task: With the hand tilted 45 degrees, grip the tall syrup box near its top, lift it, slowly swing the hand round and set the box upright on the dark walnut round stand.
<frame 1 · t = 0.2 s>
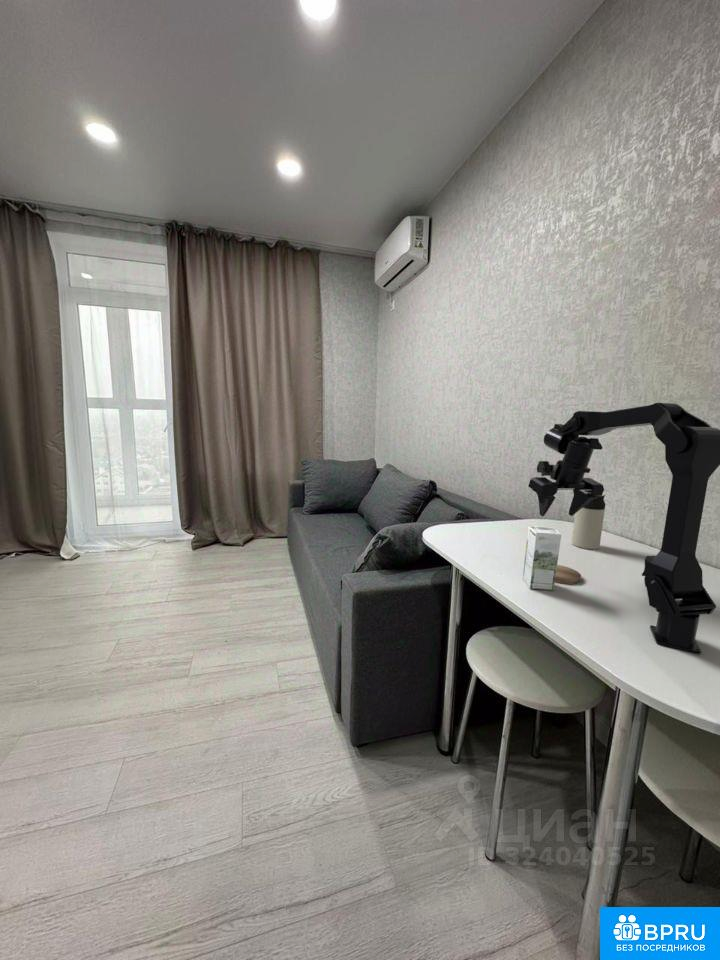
hand: (556, 515, 101), 15 cm above the table, tool pointing down, fingers open, 9 cm apart
syrup box: (537, 586, 94), on the table
travel mug: (585, 546, 125), on the table
walnut stand: (558, 575, 100), on the table
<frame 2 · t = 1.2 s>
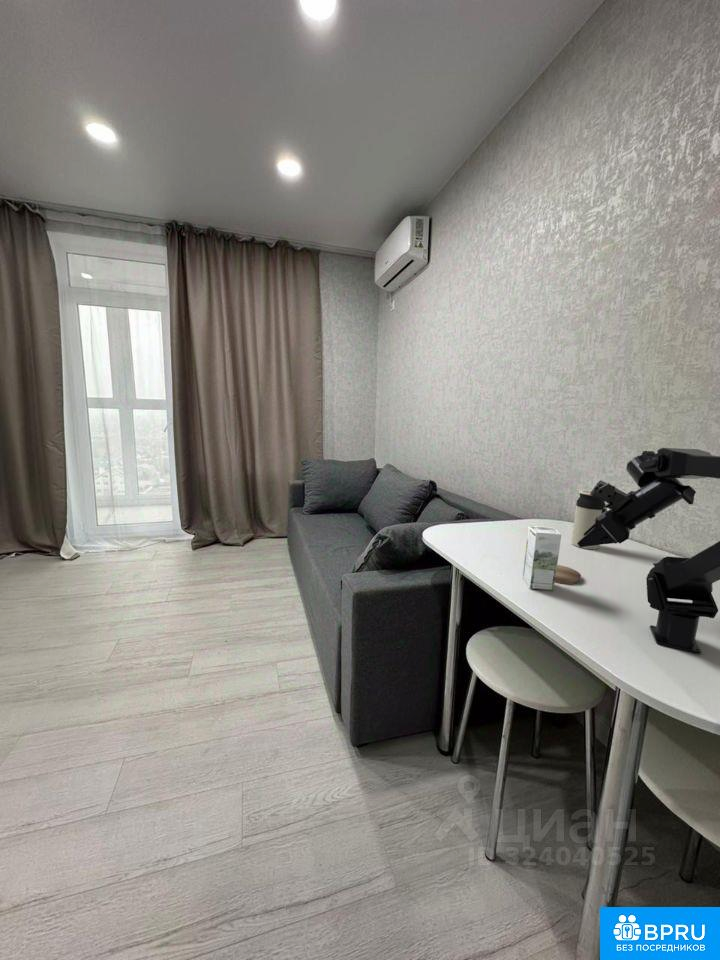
hand: (581, 540, 87), 13 cm above the table, tool tilted 45°, fingers open, 9 cm apart
nothing on the table moved.
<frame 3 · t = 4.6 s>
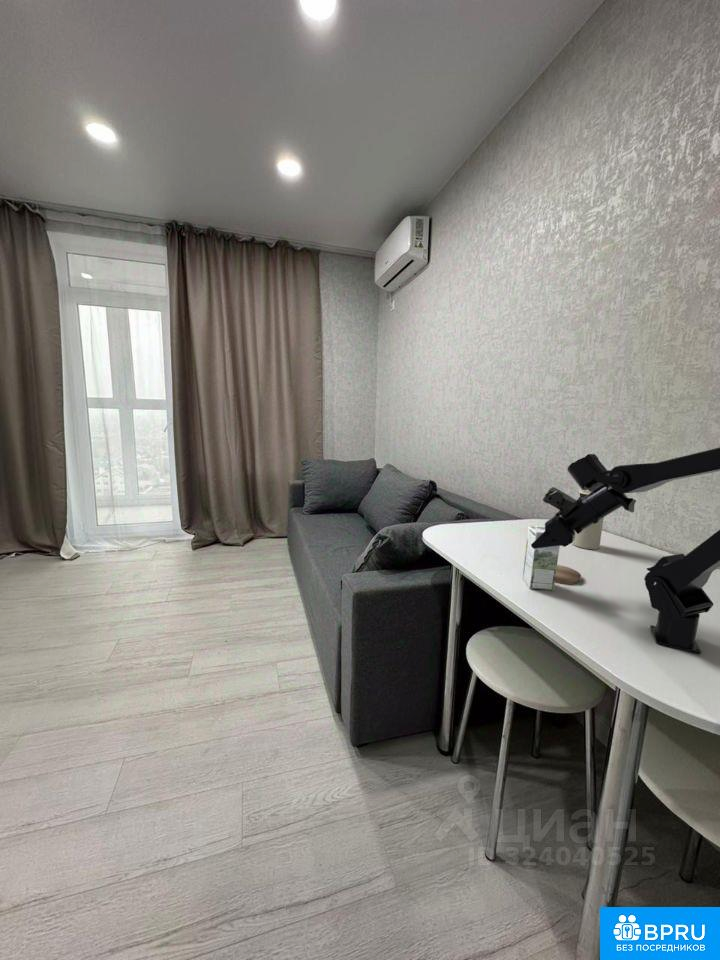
hand: (536, 542, 93), 11 cm above the table, tool tilted 45°, fingers closed on syrup box, 7 cm apart
syrup box: (537, 586, 94), on the table, touching gripper
everything else where it was.
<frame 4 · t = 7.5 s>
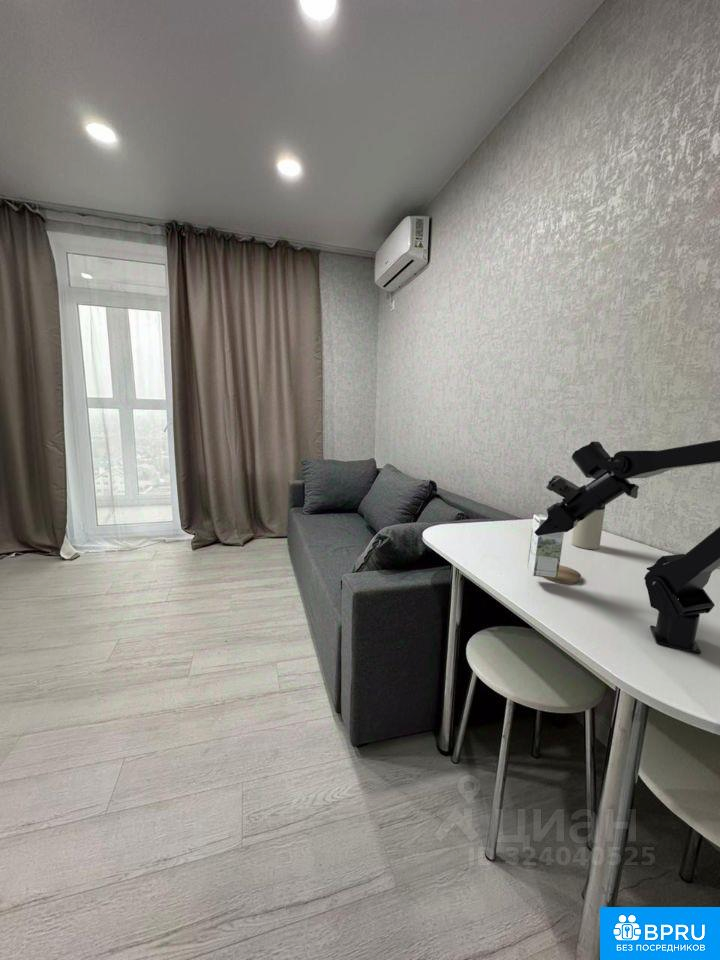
hand: (540, 530, 94), 13 cm above the table, tool tilted 45°, fingers closed on syrup box, 7 cm apart
syrup box: (542, 574, 94), point 2 cm above the table, touching gripper
everything else where it was.
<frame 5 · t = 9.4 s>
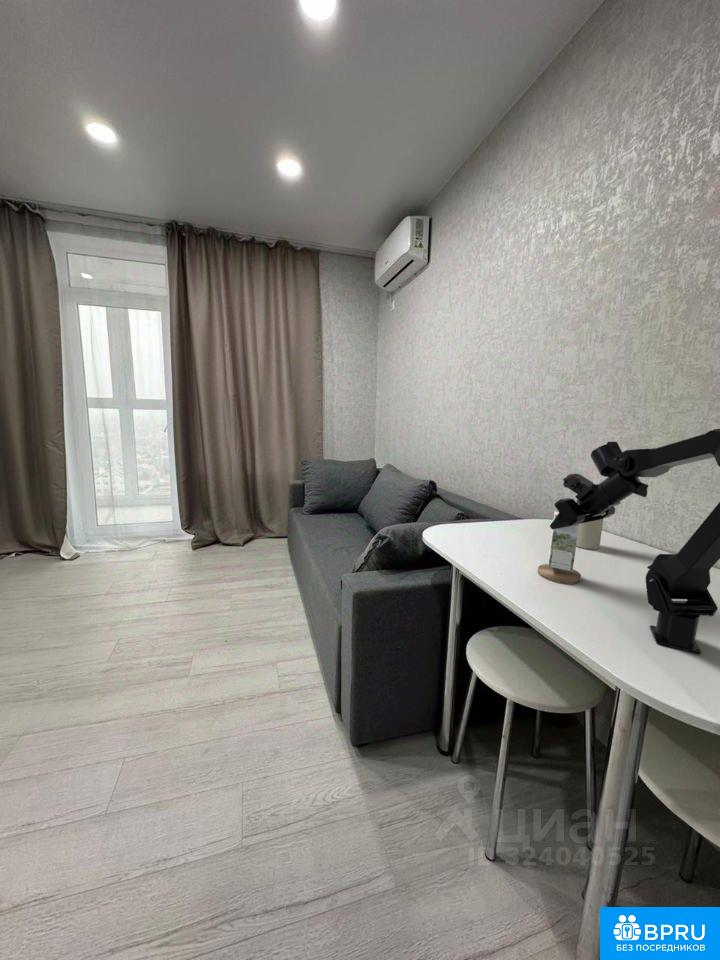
hand: (559, 525, 99), 13 cm above the table, tool tilted 45°, fingers closed on syrup box, 7 cm apart
syrup box: (559, 567, 99), point 2 cm above the table, touching gripper
everything else where it was.
when the fingers open (13 cm above the table, at t = 10.6 s): syrup box stays where it is, resting on walnut stand.
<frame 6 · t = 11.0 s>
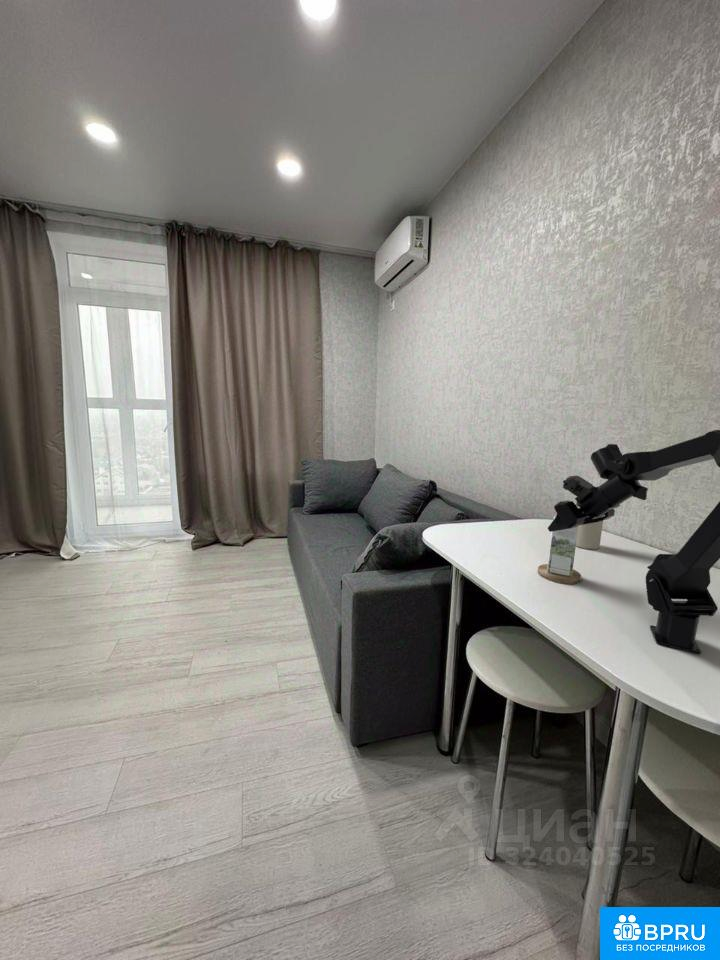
hand: (559, 527, 99), 13 cm above the table, tool tilted 45°, fingers open, 9 cm apart
syrup box: (559, 572, 100), point 1 cm above the table, touching walnut stand
everything else where it was.
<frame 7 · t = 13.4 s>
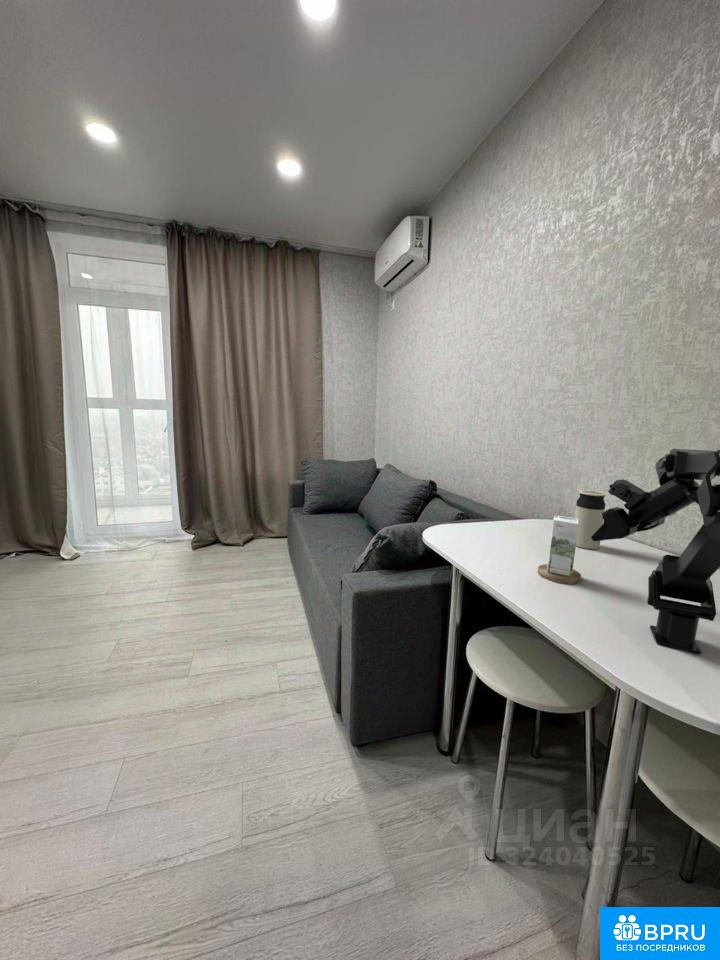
hand: (602, 536, 90), 13 cm above the table, tool tilted 45°, fingers open, 9 cm apart
nothing on the table moved.
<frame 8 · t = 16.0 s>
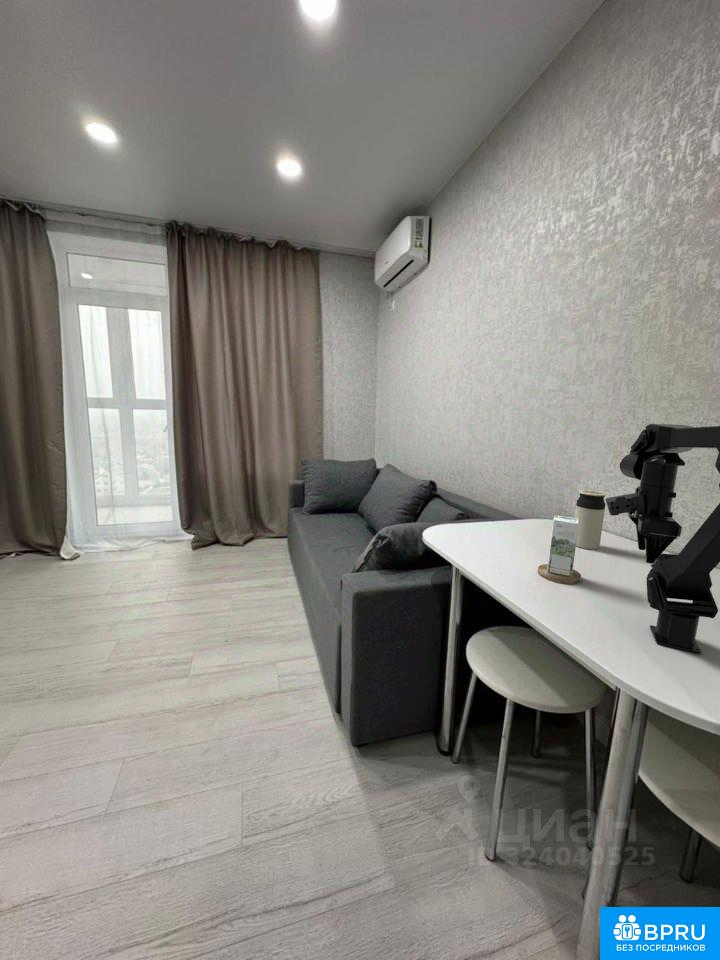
hand: (645, 556, 82), 12 cm above the table, tool pointing down, fingers open, 9 cm apart
nothing on the table moved.
at the end: syrup box 0.3 cm off-centre on the walnut stand, point 1.0 cm above the walnut stand's base; syrup box tilted 0°; the gripper is holding nothing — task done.
